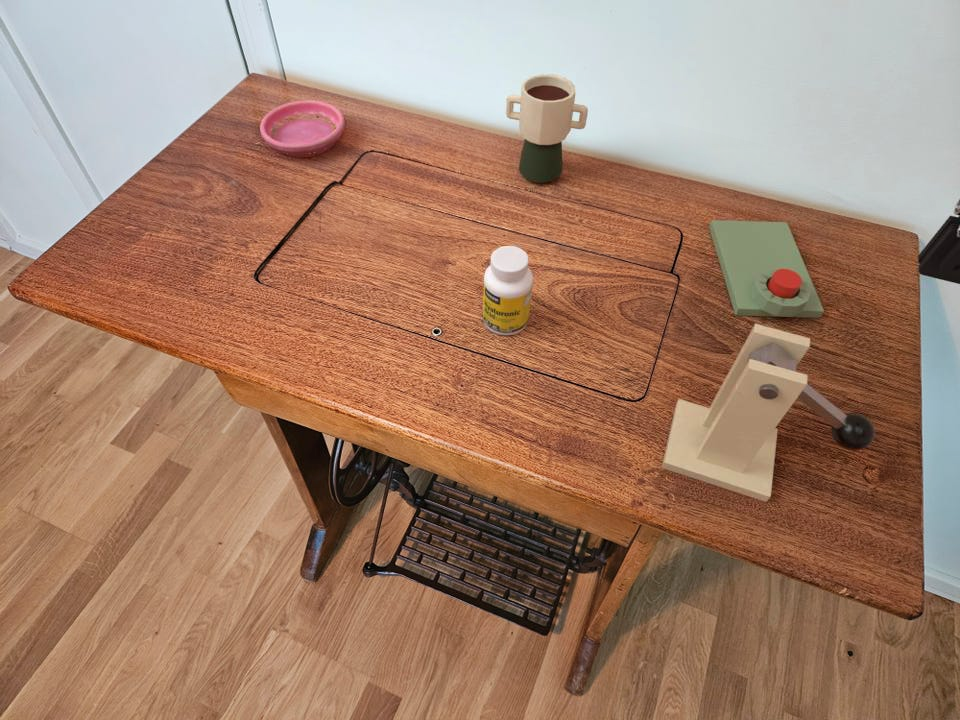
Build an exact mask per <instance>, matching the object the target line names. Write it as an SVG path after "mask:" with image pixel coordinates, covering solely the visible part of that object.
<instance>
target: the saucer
mask: <svg viewBox="0 0 960 720" xmlns="http://www.w3.org/2000/svg"><path fill="white" fill-rule="evenodd" d="M300 114H303V115H304V114H319V115H323V116H325V117H327V118H329V119H330V120H331V121H332V122H333V123H334V124H335V126H336V129H335V130H334V131H333V129H332V127H331V126H330V124H328V123H327V122H325V121H322V120H318V119H298V120H294V121H290V122H288V123H286V124H284V125H282V126H281V127H280V128H279V129H278V130H277V131H276V133H275V135H274V139H275V140H274V139H272V138H271V131H272V129H273V127H274V126H275V125H276V124H277V123H279V122H280V121H282V120H283V119H286V118H288V117H292V116H296V115H300ZM345 127H346V120H345V116H344V114H343V112H342V111H341V110H340V109H339V108H338V107H337V106H335V105H333V104H332V103H329V102H326V101H322V100H315V99H303V100H302V99H301V100H295V101H291V102H287V103H284V104H281V105H279V106H276V107H275V108H273V109H271V110H270V111H268V113H266V114H265V115H264V117H263V118H262V120H261V122H260V124H259V132H260V134H261V137H262V139H263V141H264V142H265V143H266V144H267V145H268V146H270V147H271V148H273V149H274V150H276V151H278V152H280V151H281V152H280V153H282V154H284V155H285V156H287V157H288V156H289V157H294V158H308V157H309V158H310V157H315V156H318V155H322V154H323V153H326V152H327V151H329V150H331V149H332V148H333V147H334V146H335V145H336V143H337V141H338V140H339V139H340V138H341V136H342V135H343V132H344V130H345ZM325 148H326V149H325ZM283 152H284V153H283ZM314 152H315V153H314ZM287 153H288V154H287ZM309 153H310V154H309Z"/></svg>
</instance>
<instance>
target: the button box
mask: <svg viewBox="0 0 960 720" xmlns="http://www.w3.org/2000/svg"><path fill="white" fill-rule="evenodd" d="M708 229H709V232H710V236H711V239H712V243H713V245H714V249H715V253H716V256H717V258H718V262H719V265H720V269H721V272H722V276H723V279H724V282H725V287H726V289H727V292H728V293H727V294H728V296H729V298H730V302H731V306H732V308H733V313H734V315H735V316H738V317H739V316H742V317H743V316H745V317H776V318H777V317H779V318H806V319H807V318H809V319H810V318H811V319H820V318H821V317H822V316H823V314H824V312H825V309H824V307H823V304H822V303H821V299H820V297H819V295H818V292H817V291H816V288H815V285H814V283H813V281H812V279H811V275H810V273H809V271H808V269H807V266H806V264H805V261H804V260H803V257H802V255H801V252H800V250H799V248H798V246H797V243H796V240H795V239H794V236H793V233H792V230H791V228H790V226H789V224H788V222H787V221H760V220H759V221H758V220H757V221H755V220H723V219H722V220H721V219H719V220H718V219H716V220H715V219H712V220H711V221H710V223H709V225H708ZM779 269H789V270H792V271H794V272H796V273H797V274H798V275H799V276H800V277H801V279H802V284H801V286H800V288H799V290H798V291H797V293H796V295H795V296H794V297H792V298H789V299H785V298H780V297H778V296H775V295H773V294H772V293H771V292H770V291H769V289H768V283H769V281H770V279H771V277H772V276H773V274H774V272H775V271H777V270H779Z"/></svg>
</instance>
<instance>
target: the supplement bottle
mask: <svg viewBox="0 0 960 720" xmlns="http://www.w3.org/2000/svg"><path fill="white" fill-rule="evenodd" d="M533 284H534V275H533V273H532V270H531V269H530V267H529V256H528V254H527V252H526V251H525V250H524V249H522V248H521V247H518V246H515V245H503V246H500V247H498V248H496V249H495V250H494V251H493V252H492V253H491V255H490V263H489V265H488V266H487V268H486V269H485V272H484V275H483V286H482V288H483V291H482V321H483V324H484V325H485V327H486V328H487V330H489V331H490V332H492V333H493V334H497V335H500V336H513V335H516V334H519V333H520V332H522V331H524V330H525V328H526V327H527V325H528V324H529V318H530V312H531V311H530V310H531V304H532V303H531V302H532V294H533Z"/></svg>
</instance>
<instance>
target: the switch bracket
mask: <svg viewBox="0 0 960 720" xmlns="http://www.w3.org/2000/svg"><path fill="white" fill-rule="evenodd" d="M771 342H775V343H776V344H777V345H778V346H780V347H781V348H782V349H783V350H785V351H786V352H787V353H788V354H789V355H791V356H792V357H793V358H794V359H796V360H797V365H796V367H798V365H799V364H800V362H801V361H802V359H803V358H804V356H805V355H806V354H807V352H808V350H809V349H810V348H811V338H810V337H806V336H804V335H803V336H802V335H800V334H795V333H792V332H789V331H784V330H781V329H777V328H773V327H771V326H770V327H769V326H765V325H762V324H758V323H754V325H753V327H752V329H751V330H750V332H749V334H748V336H747V338H746V340H745V341H744V343H743V346H742V347H741V349H740V351H739V352H738V354H737V356H736V358H735V360H734V362H733V364H732V366H731V367H730V369H729V371H728V373H727V374H726V377H725V379H724V380H723V382H722V384H721V386H720V387H719V389H718V391H717V392H716V395H715V396H714V398H713V400H712V402H711V404H710V405H709V407H707V406H704V405H702V404H697V403H694V402H690V401H687V400H683V399H680V398H678V399H677V401H676V403H675V406H674V411H673V414H672V420H671V424H670V428H669V432H668V437H667V441H666V445H665V450H664V454H663V459H662V463H661V469H663V470H666V471H669V472H673V473H676V474H678V475H682V476H684V477H688V478H691V479H695V480H697V481H699V482H703V483H706V484H709V485H713V486H716V487H719V488H722V489H725V490H727V491H731V492H733V493H736V494H740V495H743V496H746V497H749V498H752V499H755V500H758V501H761V502H764V503H767V502H768V501H769V499H770V498H771V497H772V490H773V489H772V488H773V479H774V478H773V477H774V469H775V459H776V449H777V441H778V431H779V430H778V428H776V427H778V425H779V424H780V422H781V421H782V420H783V418H784V417H785V416H786V414H787V412H788V411H789V410H790V408H791V407H792V406H793V404H794V403H795V402H796V400H797V399H798V398H797V397H798V396H799V395H800V393H801V392H802V391H803V389H804V388H805V387H806V385H807V384H808V376H809V375H808V374H805V373H802V372H798V371H796V372H795V371H792V370H788V369H784V368H781V367H777V366H774V365H770V364H767V363H763V362H760V361H756V360H752V359H750V360H749V362H748V359H749V353H750V352H752V351H755V350H757V349H759V348H761V347H763V346H765V345H767V344H769V343H771Z"/></svg>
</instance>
